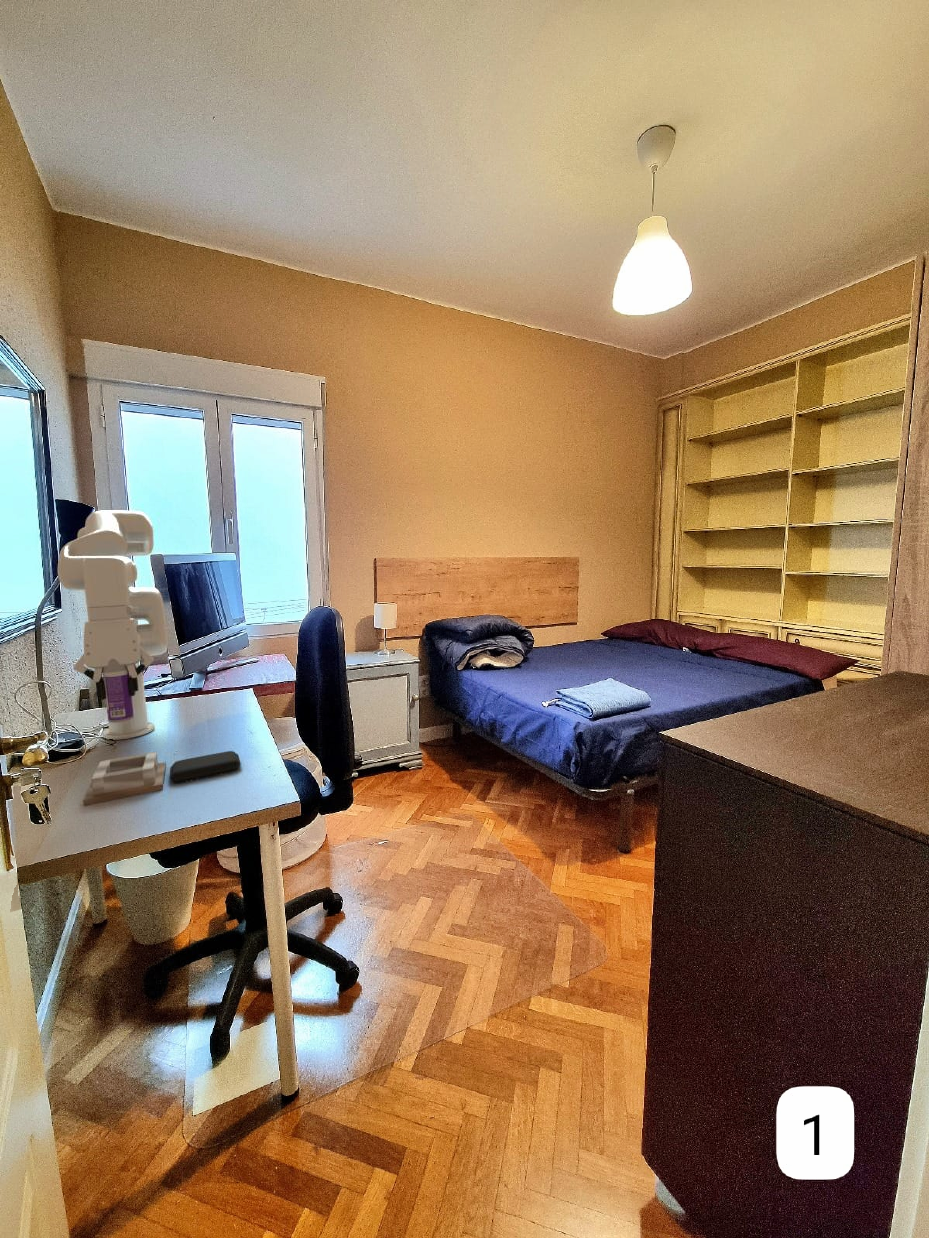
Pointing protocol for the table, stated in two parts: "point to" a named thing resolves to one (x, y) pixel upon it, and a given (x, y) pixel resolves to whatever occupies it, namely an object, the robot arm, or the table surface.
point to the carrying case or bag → (204, 766)
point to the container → (117, 692)
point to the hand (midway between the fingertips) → (118, 695)
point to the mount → (126, 778)
